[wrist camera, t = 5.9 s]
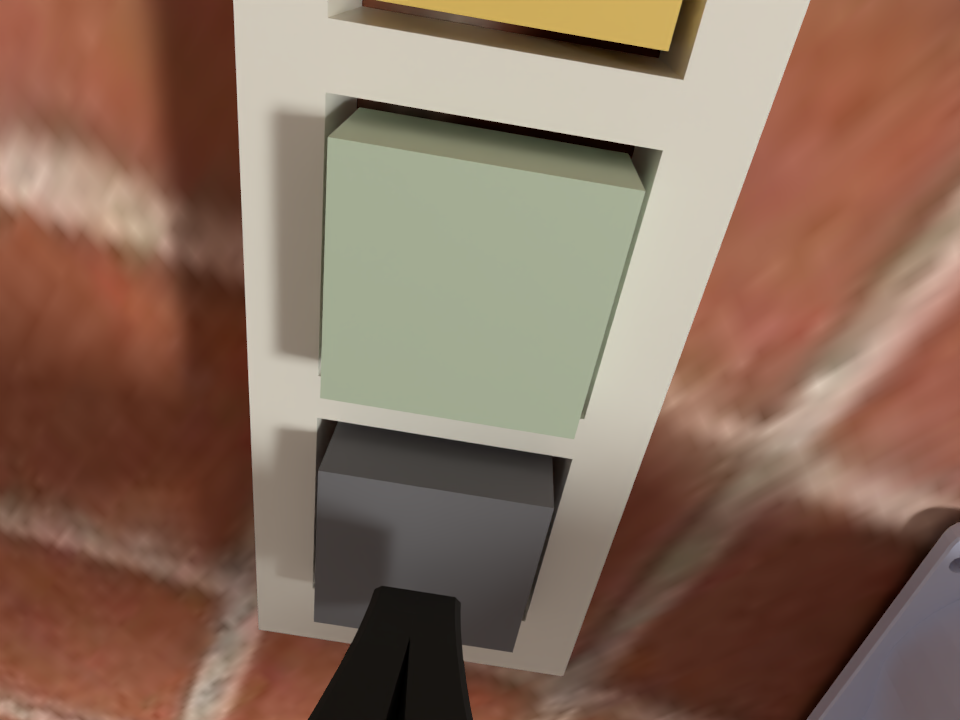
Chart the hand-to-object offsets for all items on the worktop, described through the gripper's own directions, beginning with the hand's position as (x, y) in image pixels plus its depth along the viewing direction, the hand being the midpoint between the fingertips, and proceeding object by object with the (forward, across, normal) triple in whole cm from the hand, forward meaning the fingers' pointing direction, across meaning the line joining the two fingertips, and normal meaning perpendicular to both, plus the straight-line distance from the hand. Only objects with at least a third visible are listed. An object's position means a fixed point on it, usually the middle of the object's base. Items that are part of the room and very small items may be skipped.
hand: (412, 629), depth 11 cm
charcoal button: (+3, 0, 0) cm, 3 cm away
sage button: (+3, 0, -5) cm, 6 cm away
